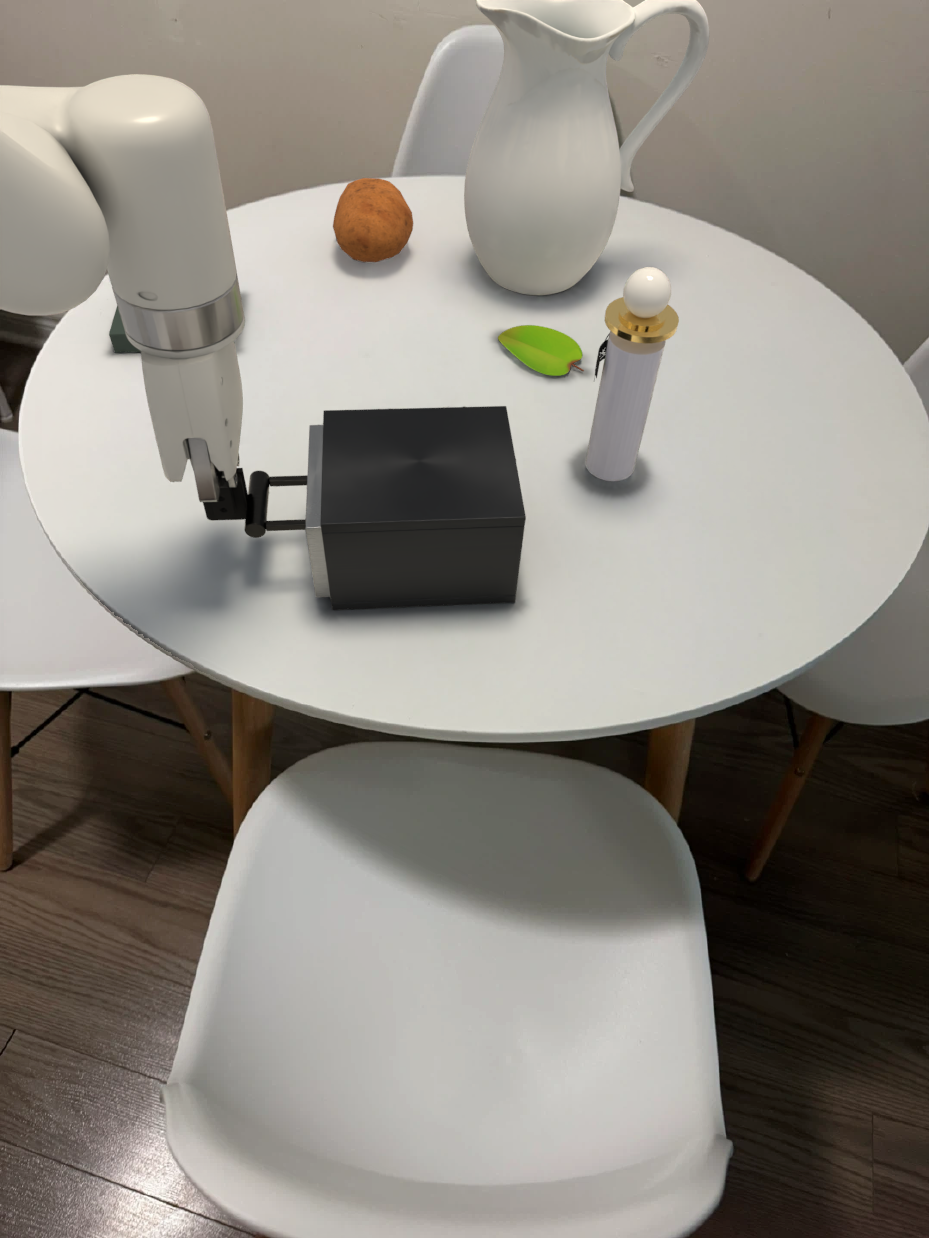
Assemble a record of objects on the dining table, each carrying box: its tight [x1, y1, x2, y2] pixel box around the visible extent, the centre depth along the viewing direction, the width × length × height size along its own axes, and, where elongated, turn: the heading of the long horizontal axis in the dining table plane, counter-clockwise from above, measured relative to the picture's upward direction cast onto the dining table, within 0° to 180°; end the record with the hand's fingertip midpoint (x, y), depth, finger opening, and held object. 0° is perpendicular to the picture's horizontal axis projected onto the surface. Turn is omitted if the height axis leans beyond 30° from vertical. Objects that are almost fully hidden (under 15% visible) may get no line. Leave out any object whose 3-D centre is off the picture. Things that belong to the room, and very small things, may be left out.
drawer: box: [243, 424, 330, 598], centre depth 71 cm, size 19×12×8 cm, turn 95°
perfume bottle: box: [584, 266, 680, 482], centre depth 74 cm, size 6×6×20 cm
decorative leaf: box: [497, 324, 585, 377], centre depth 92 cm, size 8×9×1 cm
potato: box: [332, 177, 414, 263], centre depth 101 cm, size 9×11×8 cm
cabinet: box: [321, 405, 527, 611], centre depth 71 cm, size 15×13×10 cm
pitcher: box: [463, 0, 710, 296], centre depth 92 cm, size 24×17×28 cm
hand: (228, 512), depth 70 cm, fingers closed
